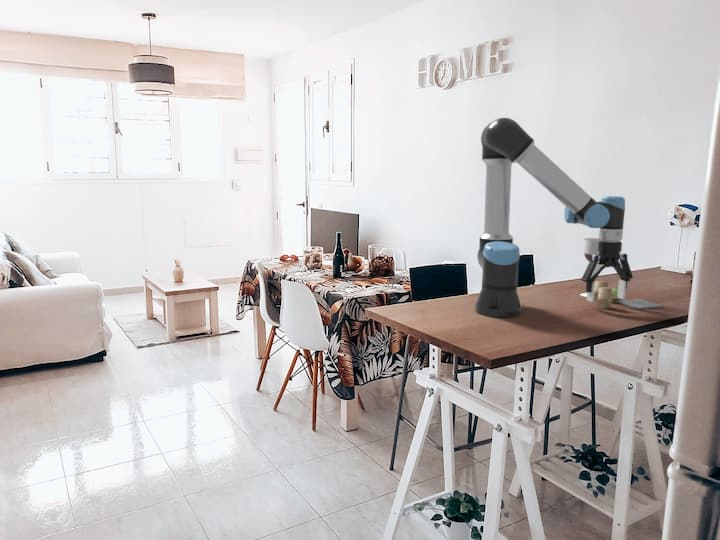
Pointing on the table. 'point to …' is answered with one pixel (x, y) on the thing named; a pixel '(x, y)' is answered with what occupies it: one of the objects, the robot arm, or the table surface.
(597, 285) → the cork
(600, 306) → the cork
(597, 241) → the wineglass
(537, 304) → the table surface
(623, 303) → the coaster
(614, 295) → the lime
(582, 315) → the table surface
